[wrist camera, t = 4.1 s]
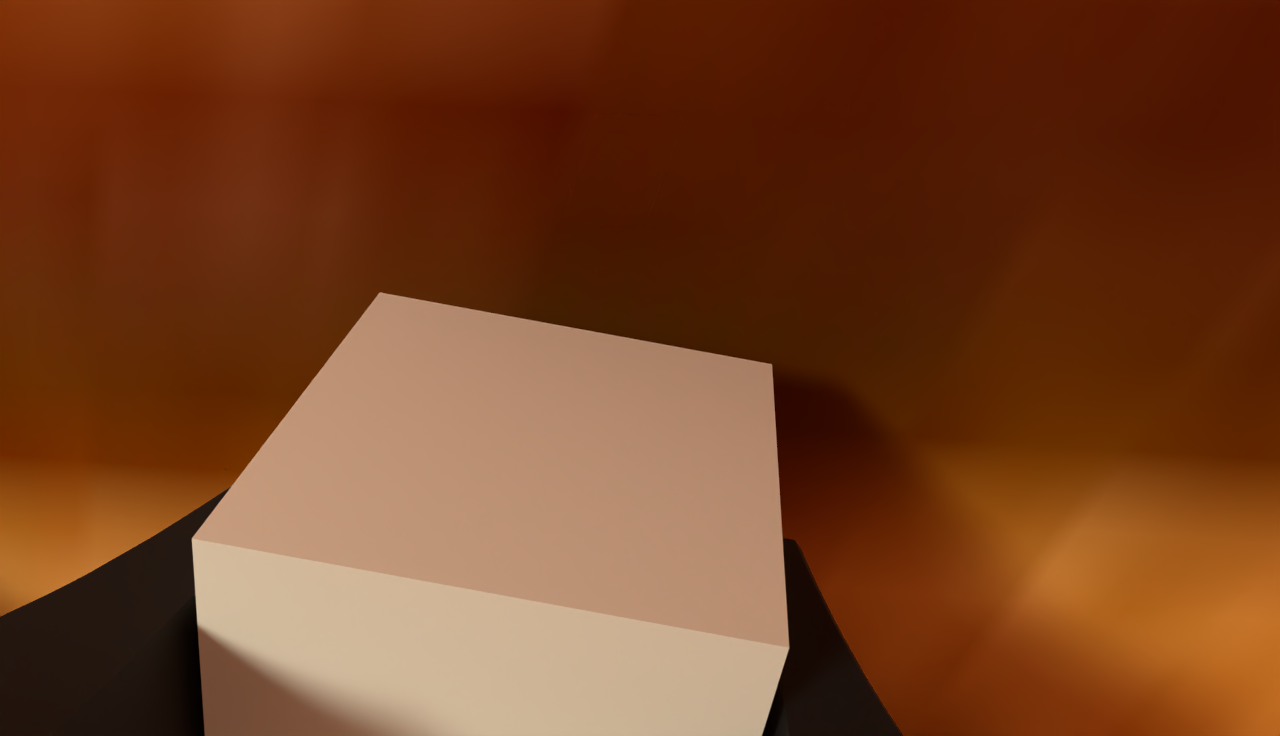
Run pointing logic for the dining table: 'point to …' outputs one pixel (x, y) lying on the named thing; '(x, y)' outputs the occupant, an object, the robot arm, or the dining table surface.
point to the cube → (500, 541)
